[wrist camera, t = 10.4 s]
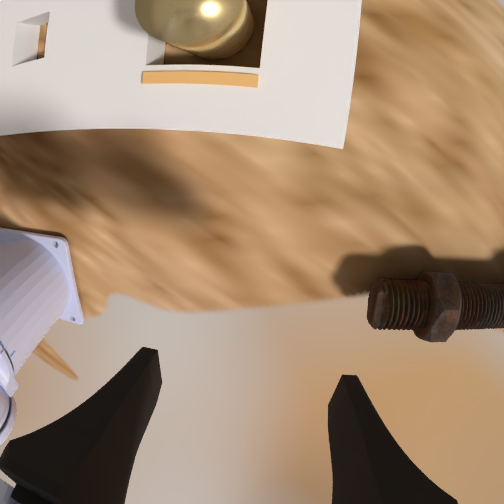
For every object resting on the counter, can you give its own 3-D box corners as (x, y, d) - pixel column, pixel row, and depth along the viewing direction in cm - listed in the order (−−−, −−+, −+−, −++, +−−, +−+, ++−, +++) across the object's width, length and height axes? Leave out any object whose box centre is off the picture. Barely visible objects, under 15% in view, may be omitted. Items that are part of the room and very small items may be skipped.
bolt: (363, 263, 22) (518, 273, 20) (357, 334, 21) (512, 331, 20) (389, 261, 16) (562, 273, 14) (380, 355, 16) (554, 343, 14)
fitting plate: (-3, 132, 17) (-28, 140, 15) (9, -11, 11) (-14, -15, 9) (334, 141, 16) (343, 149, 14) (355, -48, 11) (365, -67, 8)
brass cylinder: (177, 59, 15) (129, 46, 10) (184, -4, 13) (141, -40, 8) (250, 60, 15) (234, 42, 9) (257, -5, 13) (244, -49, 7)
